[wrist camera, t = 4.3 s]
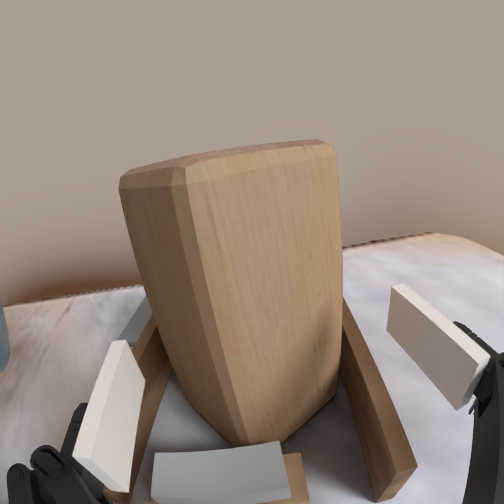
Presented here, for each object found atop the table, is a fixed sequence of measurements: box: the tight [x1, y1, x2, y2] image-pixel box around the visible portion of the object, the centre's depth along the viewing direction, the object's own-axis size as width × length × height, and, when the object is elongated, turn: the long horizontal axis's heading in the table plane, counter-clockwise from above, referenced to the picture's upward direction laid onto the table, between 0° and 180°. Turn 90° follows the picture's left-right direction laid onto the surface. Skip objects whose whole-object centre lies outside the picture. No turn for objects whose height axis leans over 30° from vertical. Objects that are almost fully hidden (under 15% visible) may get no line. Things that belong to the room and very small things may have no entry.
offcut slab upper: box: [151, 441, 291, 504], centre depth 13 cm, size 8×4×2 cm, turn 97°
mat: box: [118, 296, 152, 346], centre depth 38 cm, size 14×14×1 cm
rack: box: [103, 298, 418, 504], centre depth 20 cm, size 19×20×6 cm
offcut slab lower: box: [151, 452, 309, 504], centre depth 14 cm, size 10×4×2 cm, turn 93°
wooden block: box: [119, 139, 343, 448], centre depth 19 cm, size 10×10×20 cm
